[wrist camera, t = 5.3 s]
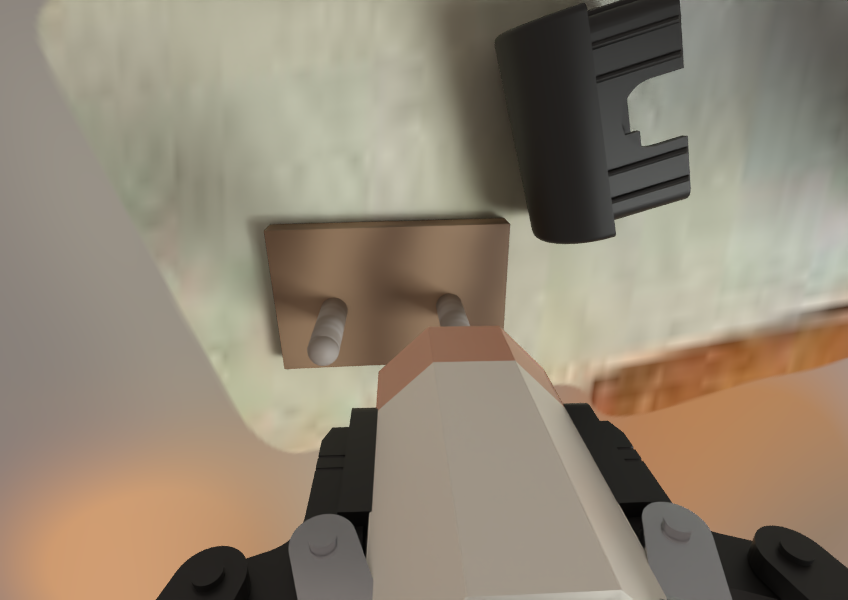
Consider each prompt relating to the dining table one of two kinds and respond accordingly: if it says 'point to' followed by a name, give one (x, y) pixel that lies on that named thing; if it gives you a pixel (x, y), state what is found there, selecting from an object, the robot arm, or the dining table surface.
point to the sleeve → (490, 483)
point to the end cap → (591, 115)
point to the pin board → (382, 285)
